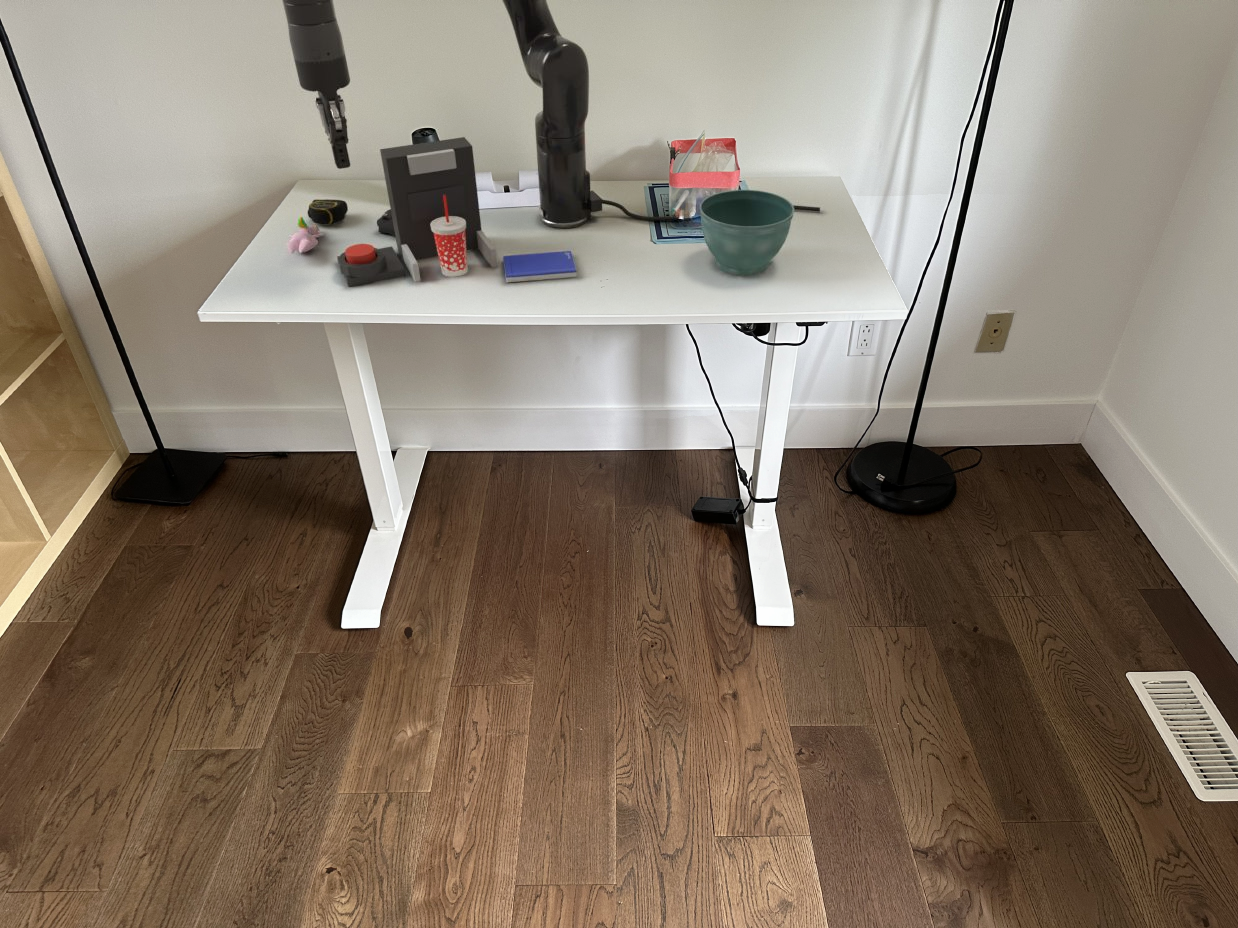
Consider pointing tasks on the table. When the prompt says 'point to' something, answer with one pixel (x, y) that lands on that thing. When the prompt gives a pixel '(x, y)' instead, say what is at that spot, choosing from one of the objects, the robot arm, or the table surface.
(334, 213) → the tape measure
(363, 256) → the power button
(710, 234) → the flower pot
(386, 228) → the game controller
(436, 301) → the table surface
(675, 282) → the table surface
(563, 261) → the hard drive
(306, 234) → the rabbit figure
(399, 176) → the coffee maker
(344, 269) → the button deck
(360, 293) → the table surface
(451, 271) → the beverage cup
